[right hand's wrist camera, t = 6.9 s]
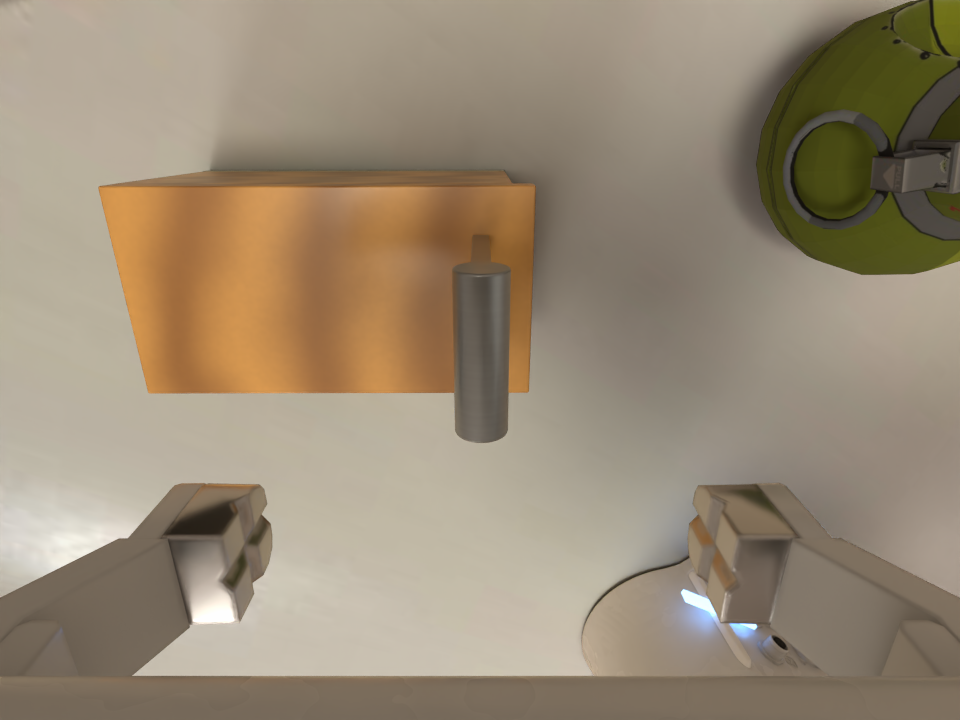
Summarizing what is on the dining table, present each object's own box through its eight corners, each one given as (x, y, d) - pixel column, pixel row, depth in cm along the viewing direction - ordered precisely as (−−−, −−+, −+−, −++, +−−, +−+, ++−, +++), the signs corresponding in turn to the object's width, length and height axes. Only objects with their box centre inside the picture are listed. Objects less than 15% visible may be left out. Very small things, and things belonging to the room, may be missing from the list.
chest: (504, 170, 33) (513, 182, 24) (502, 324, 36) (509, 383, 28) (208, 170, 33) (113, 183, 24) (235, 325, 36) (160, 384, 28)
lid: (533, 183, 24) (562, 209, 16) (527, 383, 28) (547, 490, 19) (112, 184, 24) (-79, 210, 16) (159, 384, 28) (23, 492, 19)
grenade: (948, 3, 29) (1369, -115, 15) (921, 231, 34) (1230, 300, 20) (712, 48, 30) (912, -25, 16) (716, 265, 35) (876, 355, 21)
